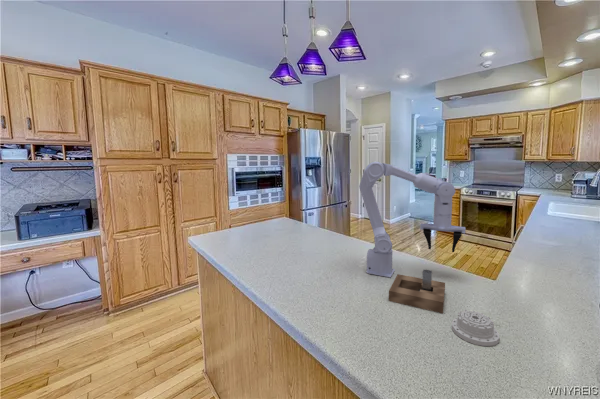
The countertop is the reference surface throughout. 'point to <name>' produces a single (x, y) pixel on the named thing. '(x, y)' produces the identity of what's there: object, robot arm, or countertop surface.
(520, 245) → the countertop surface
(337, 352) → the countertop surface
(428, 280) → the footed peg
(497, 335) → the mechanical component
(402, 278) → the keyhole plate
